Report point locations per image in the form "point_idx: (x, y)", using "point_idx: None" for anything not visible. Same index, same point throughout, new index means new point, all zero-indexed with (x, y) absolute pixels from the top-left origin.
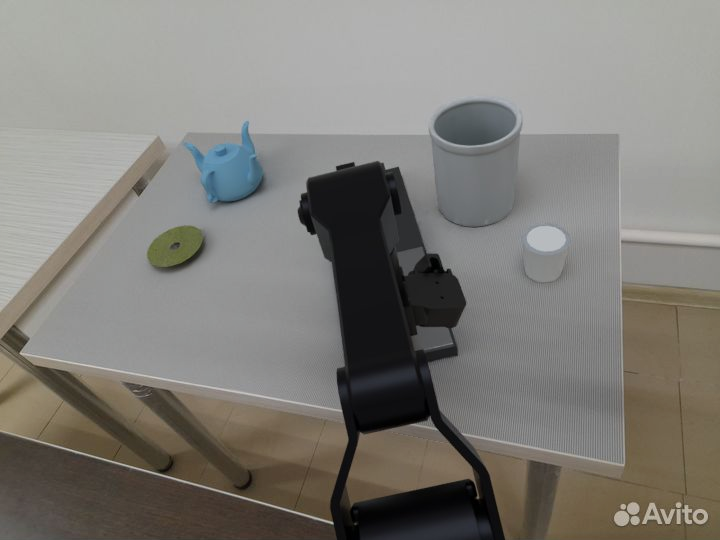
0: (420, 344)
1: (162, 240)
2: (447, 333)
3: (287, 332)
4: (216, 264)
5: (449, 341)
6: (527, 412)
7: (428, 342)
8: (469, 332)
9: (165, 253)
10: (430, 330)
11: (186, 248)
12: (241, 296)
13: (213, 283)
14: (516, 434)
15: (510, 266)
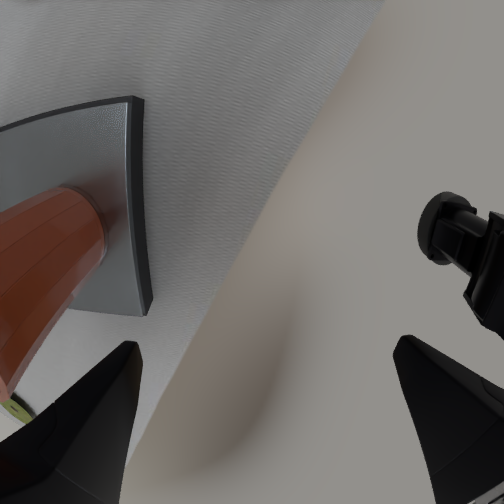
0: (111, 174)
1: (13, 413)
2: (100, 111)
3: (77, 355)
4: (17, 385)
5: (120, 109)
6: (302, 27)
7: (110, 156)
8: (105, 72)
9: (22, 416)
10: (84, 147)
11: (12, 404)
12: (42, 380)
13: (35, 394)
14: (335, 59)
15: (29, 11)
